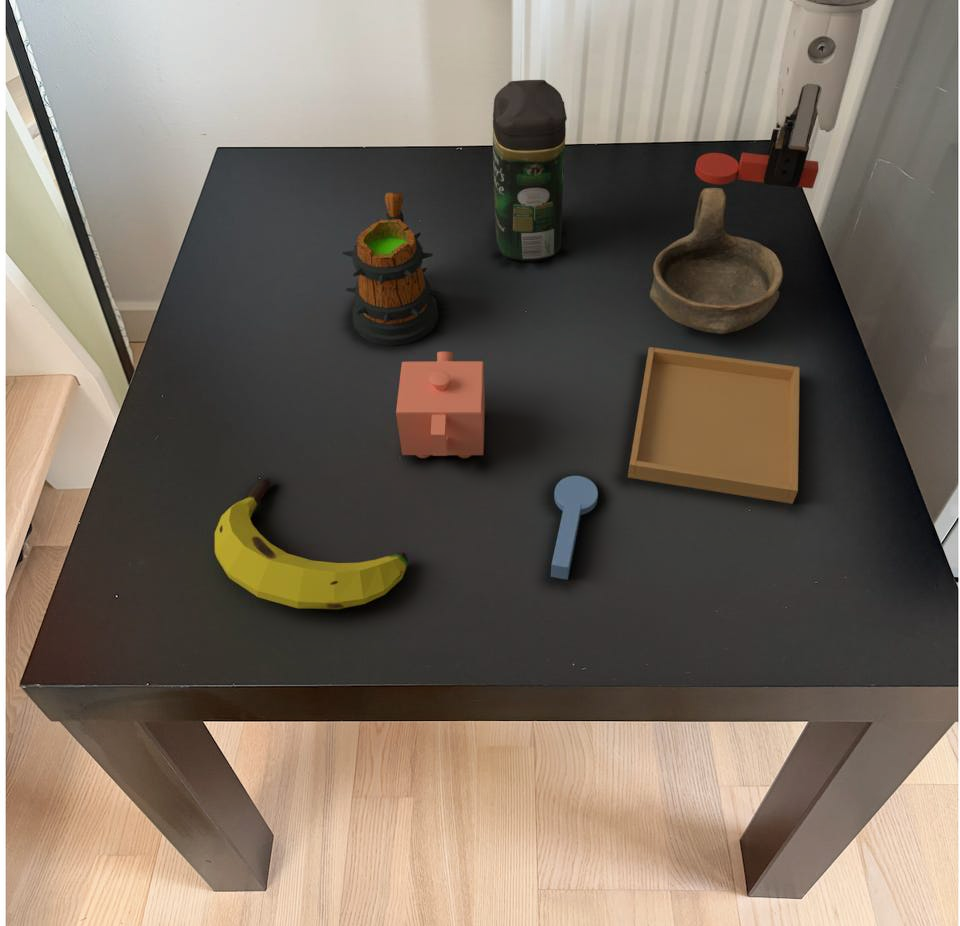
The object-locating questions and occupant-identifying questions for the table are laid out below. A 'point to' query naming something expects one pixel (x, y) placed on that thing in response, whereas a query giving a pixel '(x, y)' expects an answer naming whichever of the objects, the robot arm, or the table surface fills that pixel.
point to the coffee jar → (528, 169)
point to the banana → (296, 566)
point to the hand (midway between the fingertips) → (781, 176)
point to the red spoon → (745, 169)
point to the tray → (718, 425)
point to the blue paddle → (570, 519)
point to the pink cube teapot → (441, 407)
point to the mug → (391, 281)
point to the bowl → (715, 274)
